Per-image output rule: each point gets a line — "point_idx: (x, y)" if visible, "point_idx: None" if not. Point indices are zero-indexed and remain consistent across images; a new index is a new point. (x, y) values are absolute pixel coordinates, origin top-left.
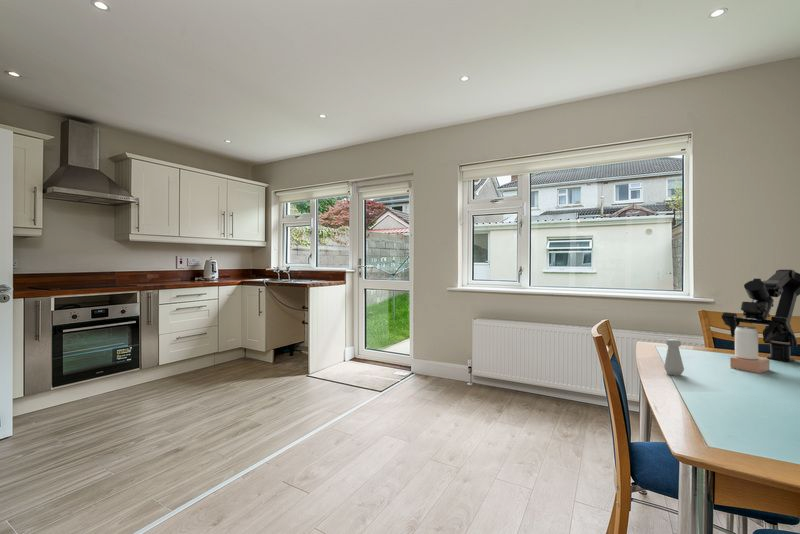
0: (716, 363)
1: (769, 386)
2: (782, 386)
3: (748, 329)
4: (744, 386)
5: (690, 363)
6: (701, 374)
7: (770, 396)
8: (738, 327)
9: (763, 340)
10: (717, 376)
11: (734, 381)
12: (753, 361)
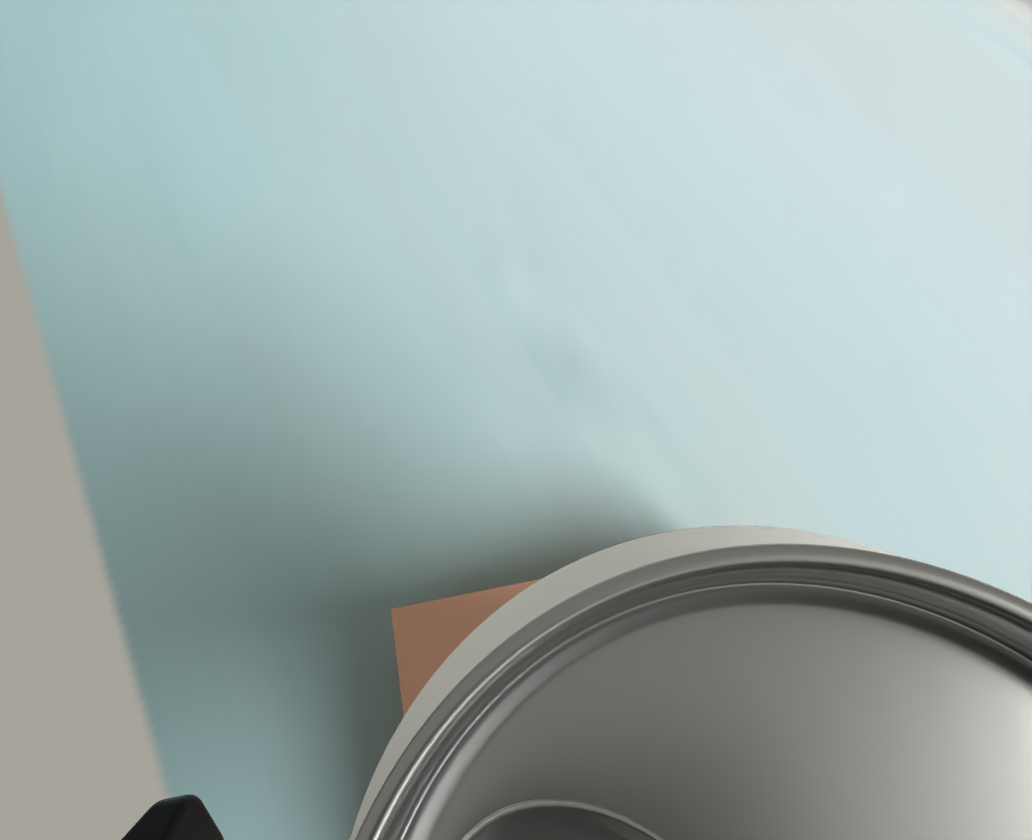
0: None
1: (165, 221)
2: (111, 321)
3: (477, 675)
4: (257, 49)
5: (1017, 286)
6: (609, 29)
7: (70, 7)
8: (933, 581)
9: (203, 812)
10: (515, 99)
11: (364, 96)
12: (462, 598)
